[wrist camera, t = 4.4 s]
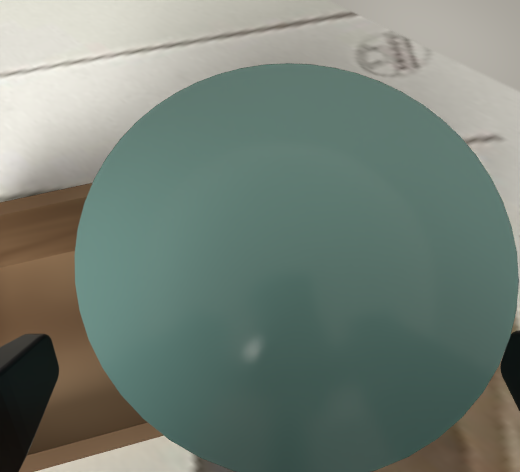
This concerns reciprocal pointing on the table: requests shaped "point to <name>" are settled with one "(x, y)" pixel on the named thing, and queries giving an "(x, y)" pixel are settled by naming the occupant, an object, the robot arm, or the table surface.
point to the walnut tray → (59, 330)
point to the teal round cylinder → (296, 271)
